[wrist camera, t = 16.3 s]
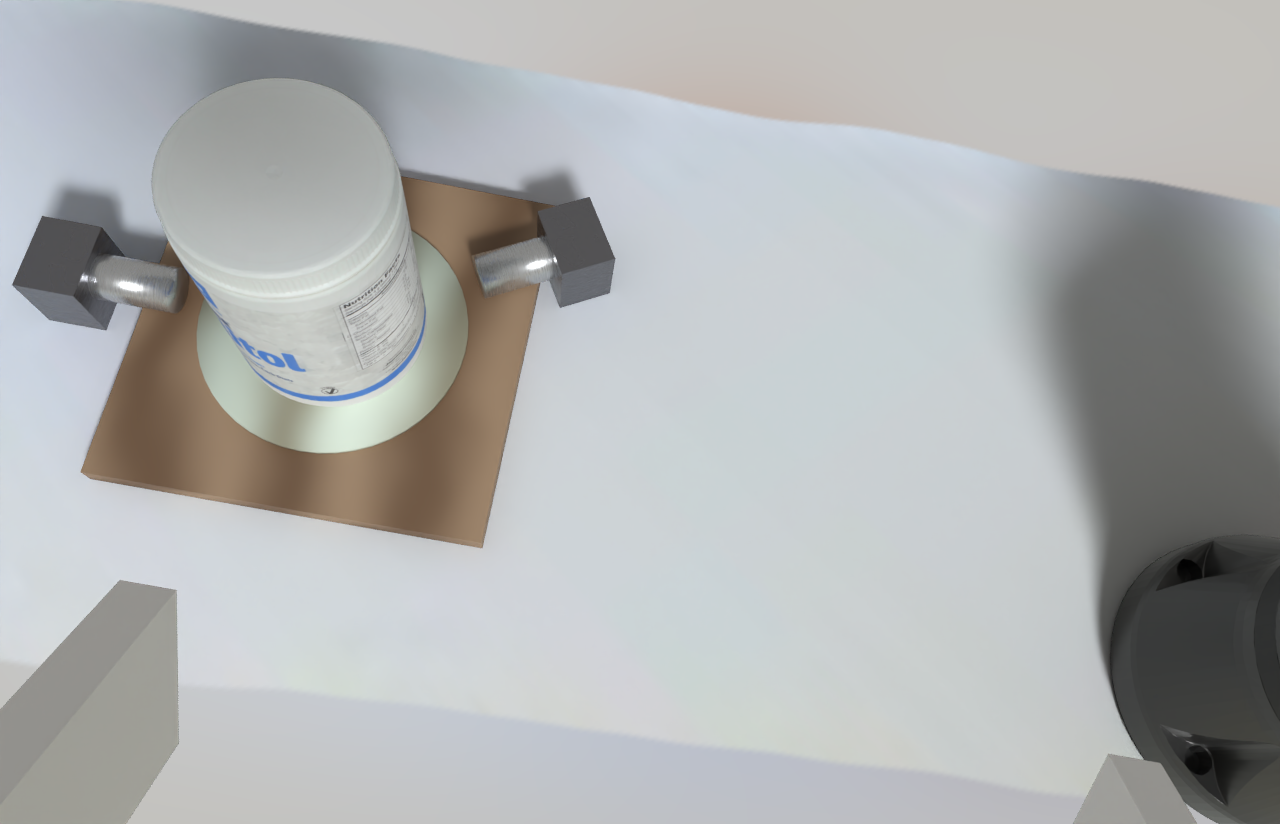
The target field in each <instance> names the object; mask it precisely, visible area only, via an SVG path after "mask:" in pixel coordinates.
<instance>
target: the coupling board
mask: <svg viewBox="0 0 1280 824" xmlns="http://www.w3.org/2000/svg"><path fill="white" fill-rule="evenodd" d="M401 181H402V186H403V191H404V196H405V200H406V206H407V211H408V216H409V222H410V227H411V232H412V238H413V243H414V248H415V253H416V258H417V264H418V269H419V274H420V279H421V284H422V289H423V295H424V300H425V306H426V311H427V327H426V334H425V339H424V343H423V346H422V349H421V351H420V354H419V356H418V358H417V360H416V361H415V363H414V364H413V366H412V367H411V369H410V370H409V371H408V372H407V373H406V375H405V376H404V377H403V378H402V379H401V380H400V381H399V382H397V383H396V384H395V385H394V386H392V387H391V388H390V389H388V390H387V391H385V392H383V393H382V394H380V395H378V396H376V397H374V398H372V399H369V400H367V401H364V402H361V403H357V404H354V405H348V406H341V407H324V406H315V405H309V404H305V403H301V402H298V401H295V400H292V399H289V398H287V397H285V396H283V395H281V394H279V393H278V392H276V391H274V390H273V389H272V388H270V387H269V386H268V385H266V384H265V383H264V382H263V381H262V380H261V379H260V378H259V377H258V376H257V374H256V373H255V372H254V371H253V369H252V368H251V366H250V365H249V364H248V362H247V361H246V359H245V358H244V356H243V355H242V353H241V352H240V350H239V349H238V347H237V346H236V344H235V343H234V342H233V340H232V339H231V337H230V336H229V334H228V332H227V331H226V329H225V328H224V326H223V325H222V323H221V322H220V320H219V319H218V317H217V316H216V314H215V313H214V311H213V310H212V308H211V307H210V305H209V304H208V302H207V301H206V299H205V298H204V296H203V295H202V293H201V292H200V290H199V289H198V287H197V286H196V284H195V283H194V281H193V280H192V278H191V277H190V275H189V274H188V272H187V271H186V269H185V268H184V266H183V264H182V263H181V261H180V259H179V258H178V256H177V255H176V253H175V252H174V250H173V248H172V246H171V245H170V243H169V241H168V243H167V245H166V248H165V250H164V253H163V256H162V258H161V261H160V264H164V265H169V266H175V267H180V268H183V269H185V271H186V272H187V275H188V280H189V289H188V295H187V299H186V302H185V304H184V306H183V308H182V309H181V310H180V311H179V312H178V313H169V312H164V311H158V310H153V309H148V308H143V309H142V311H141V314H140V316H139V319H138V322H137V324H136V327H135V330H134V332H133V335H132V338H131V340H130V343H129V345H128V348H127V351H126V353H125V356H124V359H123V361H122V364H121V367H120V369H119V372H118V374H117V377H116V380H115V382H114V385H113V388H112V390H111V393H110V396H109V398H108V401H107V403H106V406H105V409H104V411H103V414H102V417H101V419H100V422H99V425H98V427H97V430H96V432H95V435H94V438H93V440H92V443H91V446H90V448H89V451H88V454H87V456H86V459H85V461H84V464H83V467H82V469H81V473H83V474H84V475H86V476H87V477H89V478H90V479H95V480H100V481H106V482H112V483H117V484H123V485H128V486H134V487H140V488H145V489H151V490H157V491H162V492H168V493H174V494H179V495H185V496H191V497H196V498H202V499H208V500H213V501H219V502H224V503H230V504H236V505H241V506H247V507H253V508H258V509H264V510H270V511H275V512H281V513H287V514H292V515H298V516H304V517H309V518H315V519H320V520H326V521H332V522H337V523H343V524H349V525H354V526H360V527H366V528H371V529H377V530H383V531H388V532H394V533H400V534H405V535H411V536H416V537H422V538H428V539H433V540H439V541H445V542H450V543H456V544H462V545H467V546H473V547H479V548H482V547H483V543H484V538H485V534H486V529H487V525H488V520H489V515H490V511H491V506H492V502H493V497H494V492H495V488H496V483H497V479H498V474H499V470H500V465H501V460H502V456H503V451H504V447H505V442H506V437H507V433H508V428H509V424H510V419H511V415H512V410H513V405H514V401H515V396H516V392H517V387H518V382H519V378H520V373H521V369H522V364H523V360H524V355H525V350H526V346H527V341H528V337H529V332H530V327H531V323H532V318H533V314H534V309H535V305H536V300H537V295H538V291H539V286H540V283H537V284H534V285H531V286H527V287H524V288H520V289H517V290H513V291H510V292H506V293H503V294H500V295H496V296H493V297H489V298H486V299H485V298H484V296H483V294H482V291H481V289H480V286H479V283H478V280H477V277H476V273H475V270H474V266H473V261H472V255H476V254H479V253H483V252H487V251H490V250H494V249H497V248H501V247H504V246H508V245H512V244H515V243H519V242H522V241H526V240H529V239H533V238H537V211H540V210H544V209H548V208H551V207H555V206H553V205H548V204H543V203H538V202H532V201H527V200H522V199H517V198H512V197H506V196H501V195H496V194H491V193H486V192H481V191H475V190H470V189H465V188H460V187H455V186H449V185H444V184H439V183H434V182H429V181H423V180H418V179H413V178H408V177H403V176H401Z"/></svg>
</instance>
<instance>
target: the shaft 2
mask: <svg viewBox="0 0 1280 824" xmlns="http://www.w3.org/2000/svg"><path fill="white" fill-rule="evenodd" d="M472 261H473V266H474V270H475V273H476V277H477V280H478V283H479V286H480V289H481V291H482V294H483V296H484V298H485V299H486V298H489V297H493V296H496V295H500V294H503V293H506V292H510V291H513V290H517V289H520V288H524V287H527V286H531V285H534V284H537V283H541V282H544V281H548V280H549V281H550V283H551V286H552V288H553V291H554V293H555V296H556V299H557V301H558V304H559V306H560V308H561V307H564V306H567V305H571V304H574V303H578V302H581V301H584V300H588V299H591V298H594V297H598V296H601V295H604V294H608V293H610V287H611V281H612V275H613V269H614V263H615V257H614V255H613V252H612V250H611V248H610V245H609V243H608V240H607V238H606V236H605V233H604V231H603V228H602V226H601V224H600V221H599V219H598V216H597V214H596V211H595V209H594V207H593V204H592V202H591V199H590V197H588V198H584V199H581V200H577V201H573V202H570V203H566V204H562V205H559V206H555V207H551V208H548V209H544V210H540V211H537V238H533V239H529V240H526V241H522V242H519V243H515V244H512V245H508V246H504V247H501V248H497V249H494V250H490V251H487V252H483V253H479V254H476V255H472Z"/></svg>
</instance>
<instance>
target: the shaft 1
mask: <svg viewBox="0 0 1280 824" xmlns="http://www.w3.org/2000/svg"><path fill="white" fill-rule="evenodd" d="M12 285H13V286H14V287H15V288H16V289H17V290H18V291H19V292H20V293H21V294H22V295H23V296H24V297H26V298H27V299H28V300H29V301H30V302H31V303H32V304H33V305H34V306H35V307H36V308H37V309H38V310H39V311H41V312H42V313H43V314H44V315H45V316H46V317H47V318H48V319H49V320H53V321H59V322H64V323H69V324H75V325H80V326H86V327H91V328H97V329H102V330H106V329H107V327H108V324H109V322H110V319H111V316H112V314H113V311H114V309H115V306H116V304H117V303H120V304H126V305H131V306H137V307H142V308H148V309H153V310H158V311H164V312H169V313H178V312H179V311H180V310H181V309H182V308H183V306H184V304H185V302H186V299H187V295H188V289H189V280H188V275H187V272H186V271H185V269H183V268H180V267H175V266H169V265H164V264H159V263H153V262H148V261H143V260H137V259H132V258H127V257H125V256H124V255H123V254H122V252H121V251H120V250H119V249H118V247H117V246H116V245H115V244H114V242H113V241H112V240H111V239H110V237H109V236H108V235H107V233H106V232H105V231H104V230H103V228H102V227H98V226H92V225H87V224H82V223H76V222H71V221H66V220H60V219H55V218H50V217H44V216H42V218H41V220H40V222H39V225H38V227H37V229H36V231H35V234H34V236H33V238H32V241H31V243H30V245H29V247H28V250H27V252H26V254H25V257H24V259H23V261H22V263H21V266H20V268H19V270H18V273H17V275H16V277H15V279H14V282H13V284H12Z"/></svg>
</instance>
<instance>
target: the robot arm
mask: <svg viewBox="0 0 1280 824" xmlns="http://www.w3.org/2000/svg"><path fill="white" fill-rule="evenodd" d="M1111 670H1112V678H1113V684H1114V690H1115V694H1116V698H1117V702H1118V705H1119V708H1120V711H1121V714H1122V717H1123V719H1124V722H1125V725H1126V727H1127V729H1128V731H1129V733H1130V735H1131V737H1132V739H1133V741H1134V743H1135V745H1136V746H1137V748H1138V750H1139V751H1140V753H1141V754H1142V756H1143V758H1144V759H1145V760H1140V759H1135V758H1129V757H1123V756H1118V755H1112V754H1108V756H1107V758H1106V760H1105V762H1104V764H1103V766H1102V767H1101V769H1100V771H1099V773H1098V775H1097V777H1096V779H1095V781H1094V783H1093V785H1092V787H1091V789H1090V791H1089V793H1088V795H1087V797H1086V799H1085V801H1084V803H1083V805H1082V807H1081V809H1080V811H1079V813H1078V815H1077V817H1076V819H1075V821H1074V823H1073V824H1197V823H1196V821H1195V819H1194V818H1193V816H1192V814H1191V813H1190V811H1189V809H1188V808H1187V806H1186V804H1188V805H1189V806H1190V807H1192V808H1193V809H1194V810H1196V811H1197V812H1199V813H1200V814H1202V815H1204V816H1205V817H1207V818H1209V819H1211V820H1213V821H1214V822H1216V823H1218V824H1280V538H1273V537H1264V536H1255V535H1232V536H1222V537H1216V538H1211V539H1208V540H1204V541H1201V542H1198V543H1195V544H1192V545H1189V546H1186V547H1183V548H1180V549H1178V550H1175V551H1173V552H1170V553H1168V554H1166V555H1165V556H1163V557H1161V558H1159V559H1158V560H1157V561H1155V562H1154V563H1152V564H1151V565H1150V566H1149V567H1148V568H1146V569H1145V570H1144V571H1143V572H1142V573H1141V574H1140V575H1139V576H1138V578H1137V579H1136V580H1135V581H1134V583H1133V584H1132V586H1131V587H1130V589H1129V590H1128V592H1127V594H1126V595H1125V597H1124V599H1123V601H1122V604H1121V606H1120V608H1119V611H1118V614H1117V617H1116V621H1115V625H1114V629H1113V635H1112V644H1111ZM178 730H179V729H178V658H177V590H173V589H167V588H162V587H156V586H150V585H145V584H139V583H133V582H128V581H122V580H120V581H119V582H118V583H117V584H116V585H115V586H114V587H113V588H112V589H111V590H110V591H109V593H108V594H107V595H106V596H105V597H104V598H103V599H102V600H101V601H100V602H99V603H98V604H97V605H96V607H95V608H94V609H93V610H92V611H91V612H90V613H89V614H88V615H87V616H86V617H85V618H84V620H83V621H82V622H81V623H80V624H79V625H78V626H77V627H76V628H75V629H74V630H73V631H72V632H71V634H70V635H69V636H68V637H67V638H66V639H65V640H64V641H63V642H62V643H61V644H60V645H59V647H58V648H57V649H56V650H55V651H54V652H53V653H52V654H51V655H50V656H49V657H48V658H47V659H46V661H45V662H44V663H43V664H42V665H41V666H40V667H39V668H38V669H37V670H36V671H35V672H34V674H33V675H32V676H31V677H30V678H29V679H28V680H27V681H26V682H25V683H24V684H23V685H22V686H21V688H20V689H19V690H18V691H17V692H16V693H15V694H14V695H13V696H12V697H11V698H10V699H9V701H8V702H7V703H6V704H5V705H4V706H3V707H2V708H1V709H0V824H126V823H127V821H128V820H129V819H130V817H131V815H132V814H133V812H134V811H135V809H136V808H137V806H138V805H139V803H140V802H141V800H142V799H143V797H144V796H145V794H146V792H147V791H148V790H149V788H150V787H151V785H152V783H153V782H154V780H155V779H156V777H157V776H158V774H159V773H160V771H161V770H162V768H163V767H164V765H165V763H166V762H167V761H168V759H169V757H170V756H171V754H172V753H173V751H174V750H175V748H176V747H177V745H178V744H179V731H178ZM1184 802H1185V803H1186V804H1185V803H1184Z"/></svg>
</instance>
